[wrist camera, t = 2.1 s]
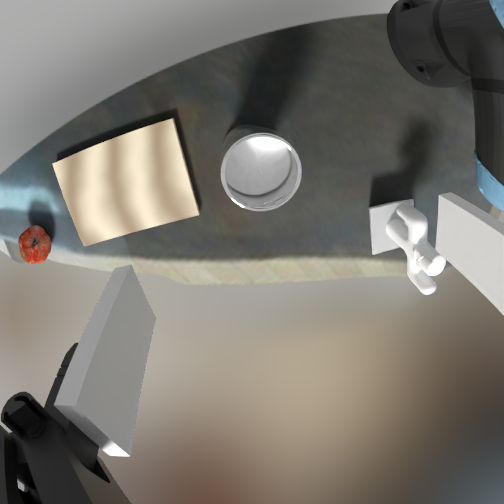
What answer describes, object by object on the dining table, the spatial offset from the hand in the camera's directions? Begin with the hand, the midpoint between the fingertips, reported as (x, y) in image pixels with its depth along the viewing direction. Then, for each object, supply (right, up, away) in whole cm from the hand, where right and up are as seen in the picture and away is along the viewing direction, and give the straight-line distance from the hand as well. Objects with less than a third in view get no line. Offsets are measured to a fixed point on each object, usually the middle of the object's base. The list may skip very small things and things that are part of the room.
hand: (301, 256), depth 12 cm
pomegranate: (-35, +2, +28) cm, 45 cm away
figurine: (+18, +5, +32) cm, 37 cm away
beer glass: (-3, +13, +25) cm, 29 cm away
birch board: (-19, +9, +26) cm, 33 cm away
